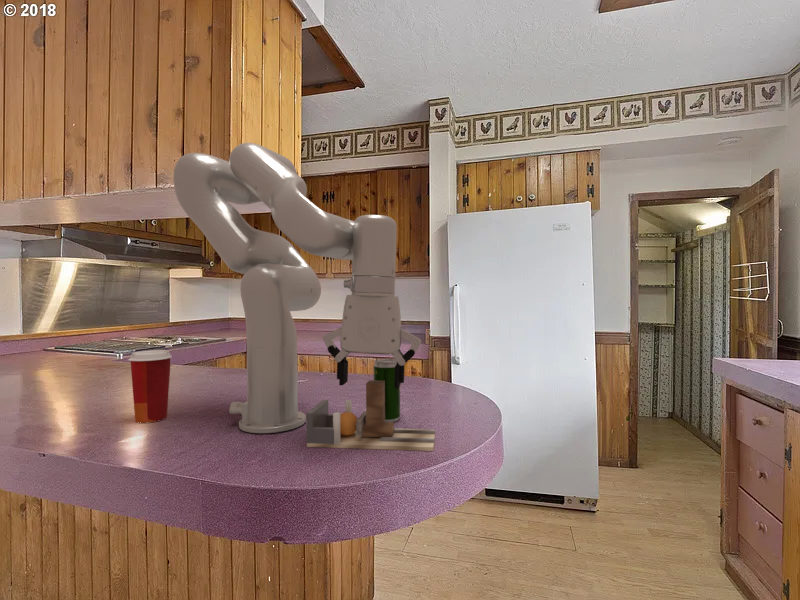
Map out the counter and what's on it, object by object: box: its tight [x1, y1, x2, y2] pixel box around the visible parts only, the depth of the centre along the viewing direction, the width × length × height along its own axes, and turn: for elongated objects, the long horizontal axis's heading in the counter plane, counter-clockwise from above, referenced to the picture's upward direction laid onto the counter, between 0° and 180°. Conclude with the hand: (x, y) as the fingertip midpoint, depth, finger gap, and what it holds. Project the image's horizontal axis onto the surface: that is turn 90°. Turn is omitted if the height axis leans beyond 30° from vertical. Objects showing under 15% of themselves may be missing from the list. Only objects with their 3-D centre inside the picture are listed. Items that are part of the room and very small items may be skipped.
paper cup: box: [127, 349, 173, 424], centre depth 84 cm, size 8×8×14 cm
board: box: [306, 427, 436, 452], centre depth 71 cm, size 21×9×1 cm, turn 83°
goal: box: [305, 399, 353, 444], centre depth 72 cm, size 6×9×5 cm, turn 173°
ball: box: [340, 412, 358, 436], centre depth 71 cm, size 4×4×4 cm
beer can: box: [372, 358, 401, 423], centre depth 83 cm, size 5×5×12 cm
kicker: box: [356, 379, 395, 437], centre depth 71 cm, size 6×6×9 cm
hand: (370, 385), depth 71 cm, fingers open, 9 cm apart
